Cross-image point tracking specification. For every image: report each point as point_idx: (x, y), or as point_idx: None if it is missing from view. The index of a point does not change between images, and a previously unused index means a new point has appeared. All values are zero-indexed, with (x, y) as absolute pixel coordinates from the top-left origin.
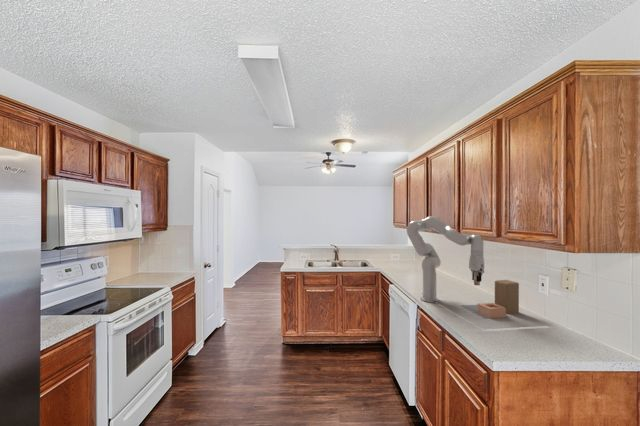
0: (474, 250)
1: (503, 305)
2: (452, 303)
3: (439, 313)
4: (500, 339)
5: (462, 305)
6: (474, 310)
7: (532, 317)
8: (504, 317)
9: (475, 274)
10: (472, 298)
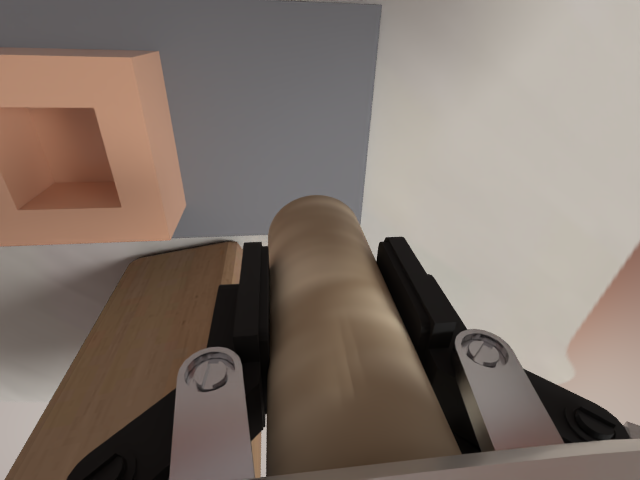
0: None
1: (141, 288)
2: (489, 3)
3: None
4: None
5: (372, 35)
6: (211, 55)
7: None
8: None
9: (311, 350)
10: (519, 258)
